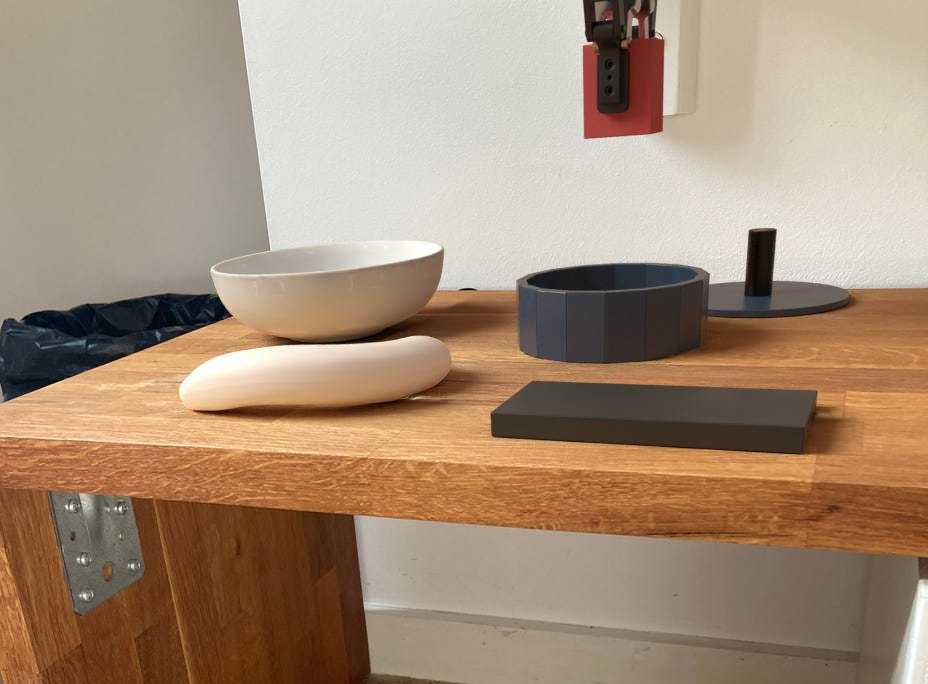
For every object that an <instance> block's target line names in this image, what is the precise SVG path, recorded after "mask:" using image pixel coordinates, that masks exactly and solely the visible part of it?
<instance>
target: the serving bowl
mask: <svg viewBox="0 0 928 684" xmlns="http://www.w3.org/2000/svg"><path fill="white" fill-rule="evenodd" d="M444 257H445V248H444V246H442V244H439V243H436V242H432V241H424V240H411V239H374V240H373V239H372V240H358V241H357V240H356V241H344V242H342V241H341V242H331V243H329V242H328V243H320V244H309V245H300V246H293V247H285V248H279V249H273V250H266V251H260V252H256V253H250V254H246V255H241V256H238V257H237V256H236V257H233V258H229V259H226V260H223V261H220V262H218V263H216V264H214V265H213V266H212V267H211V268H210V269H209V270H210V275H211V278H212V282H213V284H214V287H215V290H216V292H217V293H216V294H217V295H218V297H219V299H220V301H221V303H222V305H223V306H224V307H225V309H226V310H227V311H228V312H229V314H231V316H232V317H234V318H235V319H236V320H237V321H238V322H240V323H241V324H243V325H244V326H245V327H247V328H248V329H251V330H253V331H255V332H259V333H262V334H265V335H270V336H273V337H280V338H287V339H289V340H292V341H294V342H298V343H299V342H300V343H312V344H313V343H314V344H317V343H318V344H319V343H320V344H321V343H335V342H344V341H345V342H346V341H350V340H351V341H352V340H358V339H362V338H368V337H371V336H374V335H377V334H380V333H381V332H383V331H384V330H385V329H388V328H390V327H394V326H396V325H398V324H401V323H402V322H405V321H406V320H409V319H410V318H412V317H414V316H415V315H417V314H419V312H421V311H422V310H423V309H424V308H425V307H426V306H427V305H428V304H429V302H431V300H432V298H433V297H434V295H435V293H436V292H437V289H438V288H439V285H440V281H441V279H442V274H443V269H444V259H445V258H444Z"/></svg>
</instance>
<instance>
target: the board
mask: <svg viewBox="0 0 928 684" xmlns="http://www.w3.org/2000/svg"><path fill="white" fill-rule="evenodd" d="M818 393H819V391H818V390H815V389H789V388H760V387H759V388H758V387H757V388H756V387H731V386H730V387H728V386H703V385H702V386H699V385H673V384H672V385H669V384H667V385H666V384H643V383H642V384H641V383H613V382H612V383H609V382H583V381H581V382H579V381H555V380H554V381H552V380H549V381H548V380H531V381H530V382H528V383H527V384H526V385H524V386H523V387H522V388H521V389H519V390H518V391H516V393H514V394H512V395H511V396H510V397H509V398H507V399H506V400H505V401H504V402H502V403H501V404H500V405H498V406H497V407H496V408H495V409H493V410H492V411H491V412H490V435H491V437H493V438H496V437H497V438H512V439H528V440H529V439H531V440H550V441H567V442H568V441H570V442H584V443H602V444H622V445H637V446H638V445H639V446H658V447H675V448H694V449H711V450H712V449H713V450H729V451H730V450H731V451H745V452H748V451H749V452H766V453H782V454H798V455H799V454H801V455H802V454H803V453H804V450H805V447H806V444H807V440H808V437H809V435H810V432H811V429H812V426H813V423H814V419H815V417H816V414H817V413H816V410H817V405H818Z"/></svg>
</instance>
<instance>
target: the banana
mask: <svg viewBox="0 0 928 684" xmlns="http://www.w3.org/2000/svg"><path fill="white" fill-rule="evenodd" d="M452 362H453V361H452V354H451V350H450V349H449V347H448V346H447V344H446V343H445V342H443V341H442V340H440V339H438V338H435V337H431V336H428V335H412V336H407V337H403V338H398V339H393V340H386V341H378V342H377V341H375V342H362V343H345V344H344V343H343V344H289V345H272V346H265V347H257V348H256V347H255V348H250V349H245V350H243V349H242V350H238V351H232V352H229V353H225V354H222V355H219V356H215V357H214V358H211V359H209V360H206V361H205V362H203V363H202V364H201V365H199V366H198V367H196V368H195V369H194V370H193V371H192V372H191V373H189V375H188V376H187V377H186V378H185V379H184V380H183V382H182V383H181V384H180V386H179V389H178V394H179V398H180V400H181V402H182V404H183V405H184V408H187V409H188V410H190V411H226V410H233V409H237V408H244V407H252V406H253V407H254V406H273V405H277V406H279V405H280V406H281V405H283V406H284V405H285V406H286V405H287V406H298V405H299V406H352V405H353V406H354V405H366V404H367V405H368V404H379V403H388V402H392V401H398V400H402V399H406V398H409V397H412V396H414V395H415V394H418V393H419V394H420V393H422V392H424V391H428V390H430V389H432V388H434V387H436V386H437V385H438V384H440V383H441V382H442V381H443V380H444V379H445V378H446V377H447V375H448V374H449V372H450V371H451V370H452V369H451V368H452V365H453V363H452Z"/></svg>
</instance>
